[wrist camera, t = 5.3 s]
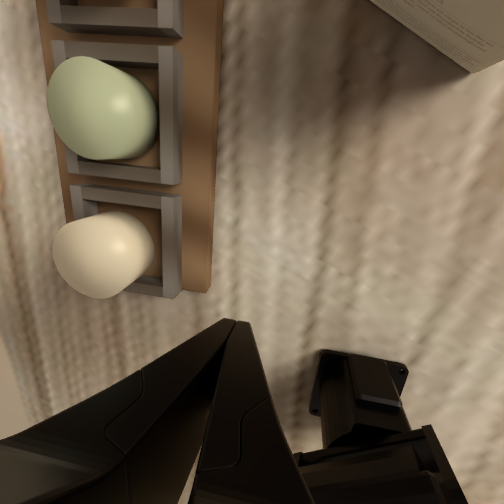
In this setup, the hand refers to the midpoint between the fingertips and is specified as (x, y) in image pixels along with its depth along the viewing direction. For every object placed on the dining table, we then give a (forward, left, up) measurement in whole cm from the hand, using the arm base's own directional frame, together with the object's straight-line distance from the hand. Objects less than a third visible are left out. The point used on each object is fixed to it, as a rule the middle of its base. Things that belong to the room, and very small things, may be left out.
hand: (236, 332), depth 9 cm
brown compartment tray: (+7, +10, -12) cm, 17 cm away
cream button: (-1, +10, -9) cm, 13 cm away
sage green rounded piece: (+7, +10, -10) cm, 16 cm away
